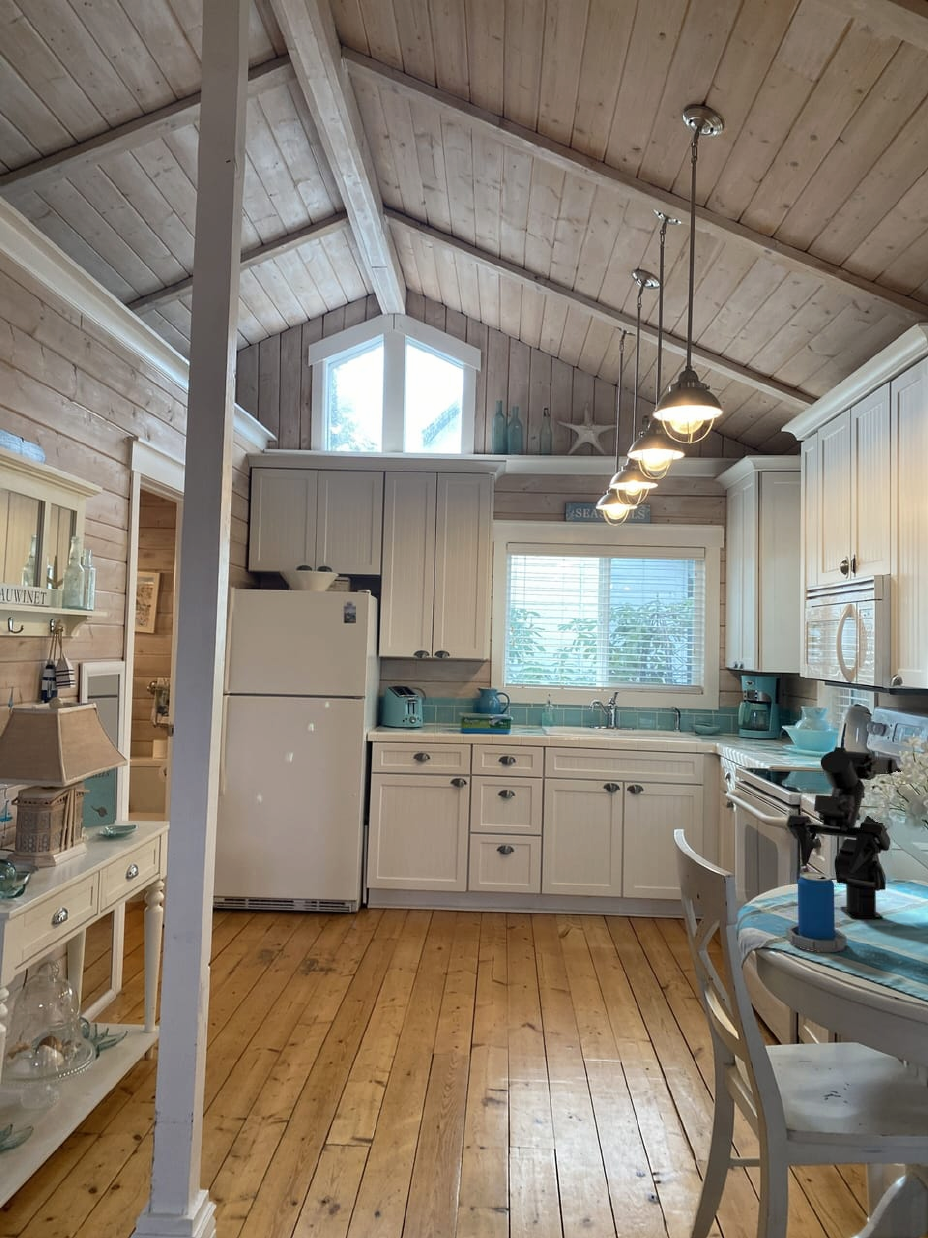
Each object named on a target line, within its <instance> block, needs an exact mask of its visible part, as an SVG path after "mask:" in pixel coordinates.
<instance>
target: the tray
mask: <svg viewBox="0 0 928 1238" xmlns="http://www.w3.org/2000/svg"><path fill="white" fill-rule="evenodd" d="M785 936H786V937H787V941H789V942H790V943H791V944H794V945H796V946H798V947H801V948H804V949H809V950H813V951H819V952H818V953H820V952H835V953H839V952H838V951H840V952H841V950H842V951H844V949H845V945H847V936H846V935H845V934H844V933H842V932H841V931H840V930H839V929H835V938H834V939H832V940H831V941H823V940H811V939H808V938H804V937H802V936H801V935H800V934H799V933H798V923H795V924H793V925H791V926H789V927H787V928H785ZM789 942H788V943H789ZM790 943H789V944H790ZM791 944H790V945H791Z"/></svg>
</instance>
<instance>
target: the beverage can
mask: <svg viewBox="0 0 928 1238" xmlns="http://www.w3.org/2000/svg"><path fill="white" fill-rule="evenodd" d="M797 922H798V923H797V924H798V933H799V934H800V935H801V936H802V937H804V938H808V939H811V940H823V941H831V940H832V939H834V938H835V927H836V923H835V922H836V921H835V883H834V881H833V880H832V876H831V875H829V874H827V873H825V872H824V873H823V872H818V871H817V872H816V871H806V872H805V871H804V872H801V873H799V878H798V879H797Z"/></svg>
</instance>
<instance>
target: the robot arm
mask: <svg viewBox="0 0 928 1238" xmlns="http://www.w3.org/2000/svg"><path fill="white" fill-rule="evenodd" d="M833 749H834V750H833V751H828V752H827V753H826V754H824V755H823V756H822V757H821V759H820V767H821V768H822V771H823V773H824V776H825V779H826V780H827V782H828V784H829V786H831V787H832V791H831V795H825V794H815V798H814V806H813V811H814V812H815V813H818V814H819V815H818V818H819V820H820V821H822V823H817V822H816V823H815V822H813V821H812V819H811V818H810V816H809V815H802V814H801V815H799V814H790V815H789V816H788V817H787V820H786V823H785V824H786V827H787V828H788V829H789V832H790V833H791V835H792V836H793V838H794V839H795V840H797V841H798V842H799V846H800V857H801V864H802V865H803V866H804V867H806V866H807V865H808V863H809V861H810V858H811V855H812V853H813V850H814V847H815V844H816V843H815V842H814V840H816V837H817V835H826V836H833V837H840V838H845V839H844V840H843V842H842V845H841V847H840V848H839V852H838V854H836V855H835V859H834V871H835V878H836V883H837V884H841V885H845V888H846V889H845V895H846V896H845V898H846V903H845V905H846V906H840V908H839V909H840V910H841V911H842V912H843V913H844V914H846V915H847V916H848V917H850V918H852V919H879V920H882V919H883V915H882V914H880V913H879V912H878V911H877V894H876V893H877V891H878V892H880V890H881V891H883V890H884V891H885V890H886V889H887V887H886V883H887V880H886V879H887V877H886V876H887V875H886V874H885V872H884V869H883V867H882V866H883V865H882V863H881V862H880V858H879V854H881V853H882V851H883V852H887V851H889V850H890V846H891V838H890V836H889V834H888V832H887V831H888V829H887V828H885V826H884V825H883V823H878V822H875V821H874V820H873V819H871V818H870V817H869V816H867V815H866V816H865V818H864V821H862V822H860V824H859V828H858V827H857V828H856V824H857V821H860V819H861V814H860V813H859V812H860V809H861V804H862V802H863V799H864V798H865V790H866V786H865V784H864V783H863V782H862V781H861V780H864V781H867V780H871V779H873V778H874V779H875V778H877V777H876V776H877V775H880V774H890V773H893V772H896V771H898V772H901V771H902V770H901V768H899V766H898V763H897V760H896V759H895V758H892V757H887V756H876V755H875V754H873V753H871V752H866V751H865V752H864V751H852V750H847V749H846V747H843V746H841V747H839V746H835V747H834V748H833ZM886 772H887V773H886Z"/></svg>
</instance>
